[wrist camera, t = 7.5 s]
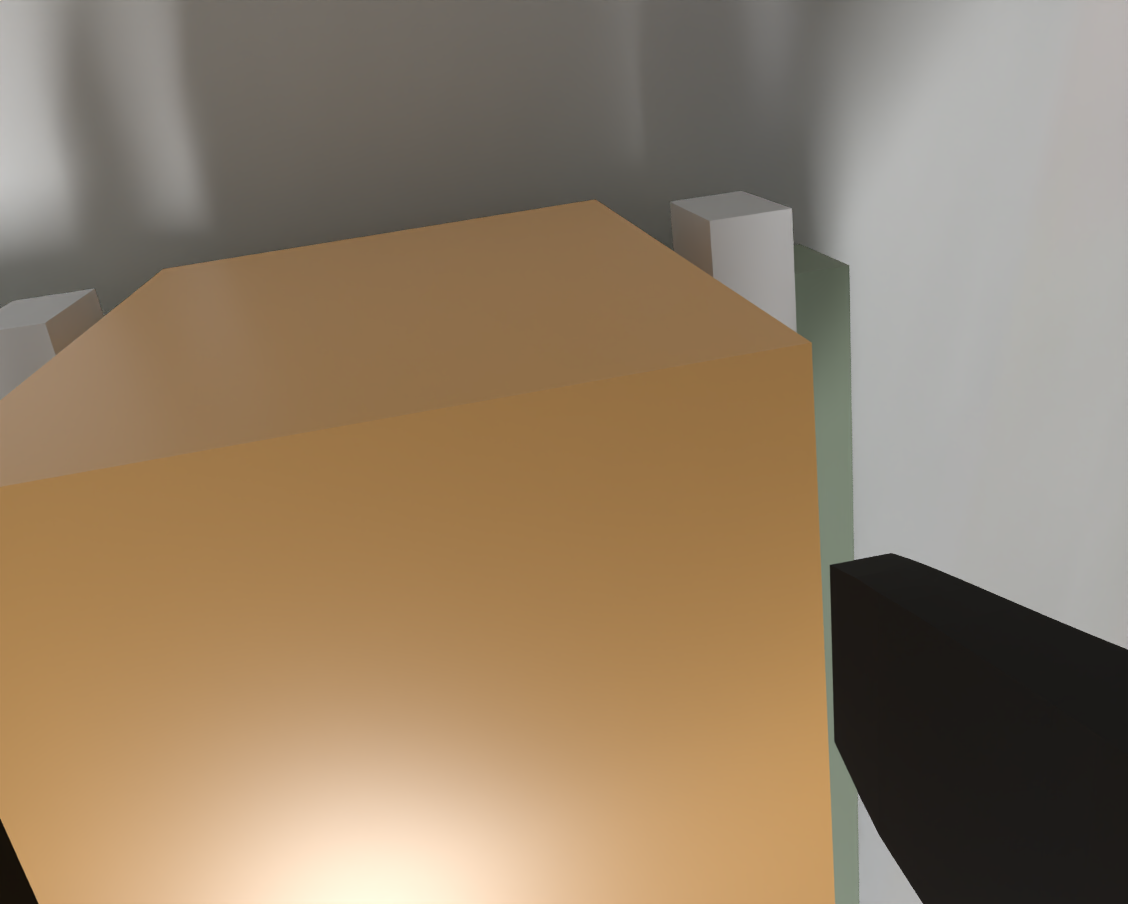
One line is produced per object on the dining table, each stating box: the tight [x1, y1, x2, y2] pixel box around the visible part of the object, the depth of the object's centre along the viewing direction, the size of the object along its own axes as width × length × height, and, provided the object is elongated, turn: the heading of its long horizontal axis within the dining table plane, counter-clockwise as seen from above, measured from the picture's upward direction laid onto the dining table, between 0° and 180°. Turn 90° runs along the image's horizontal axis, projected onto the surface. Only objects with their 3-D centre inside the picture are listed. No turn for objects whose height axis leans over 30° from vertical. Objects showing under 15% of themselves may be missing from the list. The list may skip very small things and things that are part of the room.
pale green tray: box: [0, 191, 859, 904], centre depth 12 cm, size 16×13×4 cm
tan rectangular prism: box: [0, 199, 835, 904], centre depth 9 cm, size 4×8×6 cm, turn 8°
